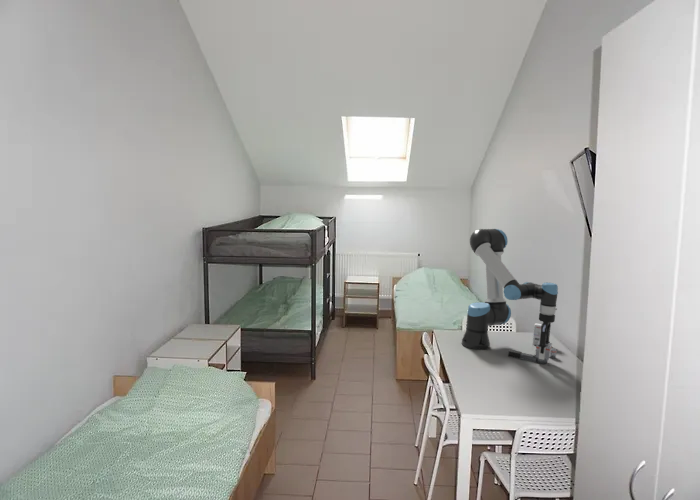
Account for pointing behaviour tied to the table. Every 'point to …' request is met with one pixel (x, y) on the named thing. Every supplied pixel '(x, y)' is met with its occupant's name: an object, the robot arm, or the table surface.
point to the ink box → (537, 333)
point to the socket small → (553, 353)
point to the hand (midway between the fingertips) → (542, 357)
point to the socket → (547, 351)
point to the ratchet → (526, 357)
